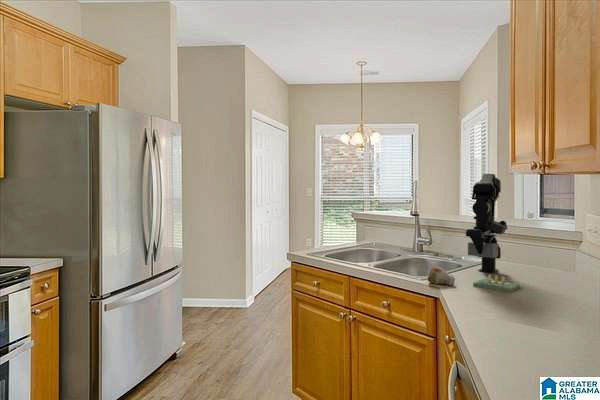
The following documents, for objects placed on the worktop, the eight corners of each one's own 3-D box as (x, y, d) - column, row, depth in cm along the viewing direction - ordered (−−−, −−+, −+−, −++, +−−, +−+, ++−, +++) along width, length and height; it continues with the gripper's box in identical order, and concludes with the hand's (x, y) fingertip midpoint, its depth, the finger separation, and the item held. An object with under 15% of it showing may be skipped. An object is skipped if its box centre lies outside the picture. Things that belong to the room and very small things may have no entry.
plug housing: (473, 253, 188) (473, 241, 188) (498, 256, 181) (498, 243, 181) (467, 255, 185) (468, 242, 184) (492, 258, 178) (493, 245, 177)
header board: (482, 281, 183) (482, 271, 183) (519, 287, 173) (519, 276, 173) (473, 285, 177) (473, 275, 176) (511, 292, 167) (511, 280, 167)
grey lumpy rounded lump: (454, 288, 174) (440, 265, 174) (433, 295, 180) (420, 273, 181) (460, 280, 180) (447, 258, 180) (440, 287, 186) (427, 265, 186)
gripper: (494, 216, 170) (493, 258, 170) (513, 213, 183) (512, 252, 184) (465, 215, 178) (464, 255, 178) (485, 212, 191) (485, 249, 192)
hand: (482, 253), depth 183 cm, fingers closed on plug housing, 5 cm apart
